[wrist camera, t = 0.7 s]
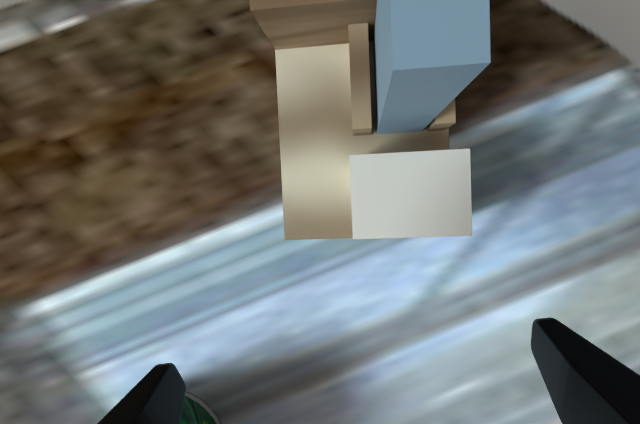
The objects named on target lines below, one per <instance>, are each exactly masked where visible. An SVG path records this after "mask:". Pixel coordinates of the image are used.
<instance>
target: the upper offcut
mask: <svg viewBox="0 0 640 424" xmlns="http://www.w3.org/2000/svg"><path fill="white" fill-rule="evenodd" d="M349 159H350V184H351V209H352V234H353V239H378V238H412V237H445V236H472V208H471V164H470V149H452V150H434V151H416V152H398V153H380V154H362V155H349Z"/></svg>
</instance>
